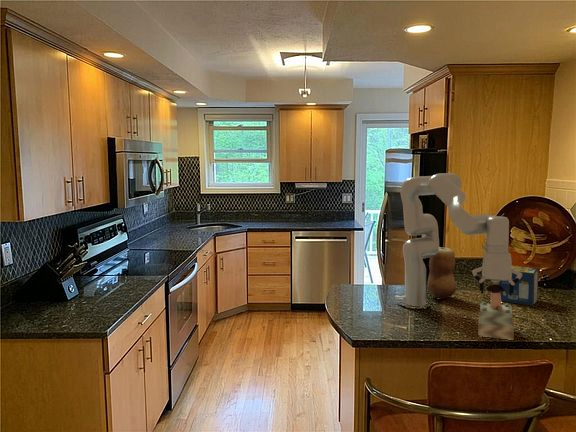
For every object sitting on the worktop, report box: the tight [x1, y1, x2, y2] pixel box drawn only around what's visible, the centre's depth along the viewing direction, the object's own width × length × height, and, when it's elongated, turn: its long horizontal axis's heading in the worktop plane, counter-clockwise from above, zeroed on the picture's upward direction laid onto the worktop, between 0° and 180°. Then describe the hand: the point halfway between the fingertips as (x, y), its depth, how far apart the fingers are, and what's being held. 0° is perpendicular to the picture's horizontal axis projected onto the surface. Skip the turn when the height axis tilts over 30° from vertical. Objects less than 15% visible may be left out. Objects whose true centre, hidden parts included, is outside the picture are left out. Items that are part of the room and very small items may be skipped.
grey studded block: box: [477, 301, 515, 341], centre depth 174 cm, size 12×12×11 cm
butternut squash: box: [426, 246, 457, 300], centre depth 222 cm, size 14×13×25 cm
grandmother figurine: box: [484, 280, 506, 309], centre depth 173 cm, size 8×4×13 cm, turn 93°
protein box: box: [498, 265, 539, 307], centre depth 215 cm, size 10×15×16 cm
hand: (496, 293), depth 173 cm, fingers open, 9 cm apart
